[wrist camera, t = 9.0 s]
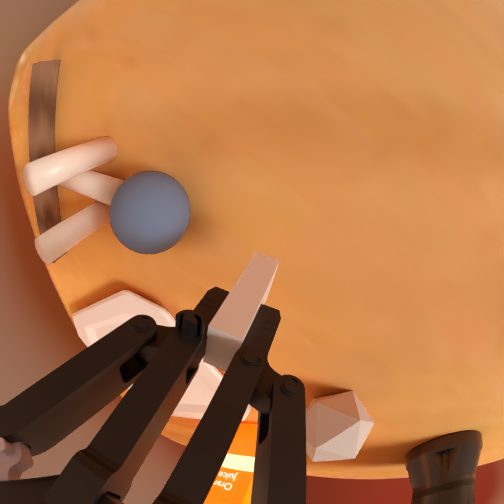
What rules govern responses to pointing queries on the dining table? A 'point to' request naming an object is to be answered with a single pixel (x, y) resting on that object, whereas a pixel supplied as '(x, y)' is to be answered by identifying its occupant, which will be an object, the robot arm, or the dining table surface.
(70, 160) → the pin
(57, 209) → the board
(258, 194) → the dining table surface
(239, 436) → the orange juice
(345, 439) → the die
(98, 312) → the plate
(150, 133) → the dining table surface
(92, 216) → the pin
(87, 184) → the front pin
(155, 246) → the ball
